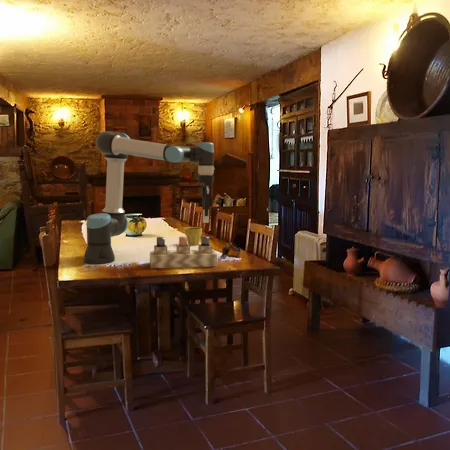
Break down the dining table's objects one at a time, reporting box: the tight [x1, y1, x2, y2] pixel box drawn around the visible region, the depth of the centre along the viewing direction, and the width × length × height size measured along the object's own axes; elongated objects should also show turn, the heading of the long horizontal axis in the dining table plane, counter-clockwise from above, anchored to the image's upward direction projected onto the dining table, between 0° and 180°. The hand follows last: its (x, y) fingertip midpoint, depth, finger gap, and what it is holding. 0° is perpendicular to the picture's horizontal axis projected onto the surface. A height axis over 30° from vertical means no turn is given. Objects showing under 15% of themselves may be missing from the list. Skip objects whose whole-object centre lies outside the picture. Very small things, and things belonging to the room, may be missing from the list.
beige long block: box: [149, 243, 218, 269], centre depth 246 cm, size 32×12×10 cm, turn 101°
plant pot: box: [184, 226, 203, 246], centre depth 299 cm, size 10×10×10 cm
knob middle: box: [178, 236, 188, 247], centre depth 245 cm, size 4×4×4 cm
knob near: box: [156, 236, 166, 247], centre depth 242 cm, size 4×4×4 cm
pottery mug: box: [221, 242, 242, 258], centre depth 266 cm, size 12×9×8 cm
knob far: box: [200, 235, 210, 246], centre depth 247 cm, size 4×4×4 cm
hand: (205, 222), depth 245 cm, fingers closed
